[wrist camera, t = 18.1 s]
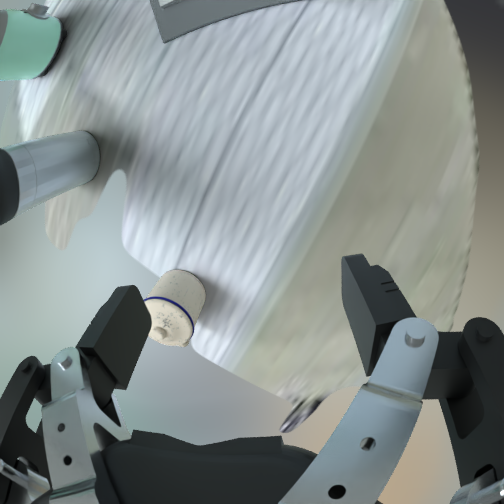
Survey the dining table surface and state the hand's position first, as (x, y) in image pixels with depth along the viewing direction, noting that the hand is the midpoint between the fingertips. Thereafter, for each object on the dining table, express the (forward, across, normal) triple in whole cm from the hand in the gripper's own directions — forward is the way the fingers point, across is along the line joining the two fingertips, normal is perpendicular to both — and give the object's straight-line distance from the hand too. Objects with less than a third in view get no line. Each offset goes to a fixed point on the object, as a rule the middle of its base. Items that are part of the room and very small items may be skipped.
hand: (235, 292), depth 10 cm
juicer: (+32, +34, -33) cm, 57 cm away
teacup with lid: (+28, +16, +20) cm, 38 cm away
